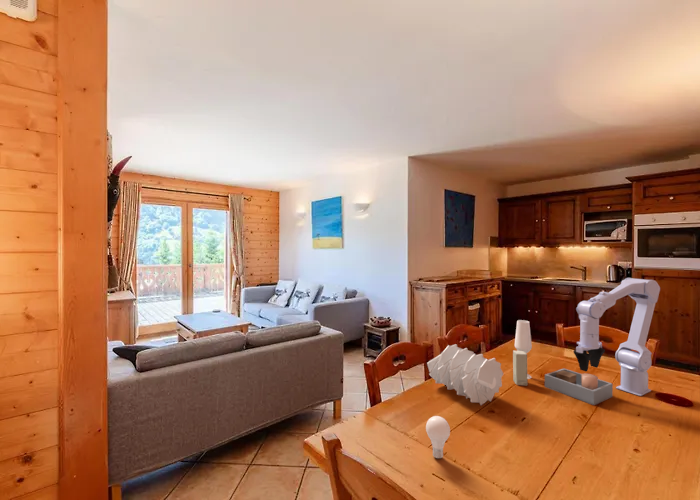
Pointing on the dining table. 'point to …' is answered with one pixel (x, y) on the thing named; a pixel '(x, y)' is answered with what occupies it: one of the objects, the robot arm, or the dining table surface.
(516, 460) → the dining table surface
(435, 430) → the lightbulb
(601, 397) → the tote
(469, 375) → the spiral staircase
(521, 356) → the box
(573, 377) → the walnut cube
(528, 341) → the champagne flute
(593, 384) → the peach capsule
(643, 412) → the dining table surface
